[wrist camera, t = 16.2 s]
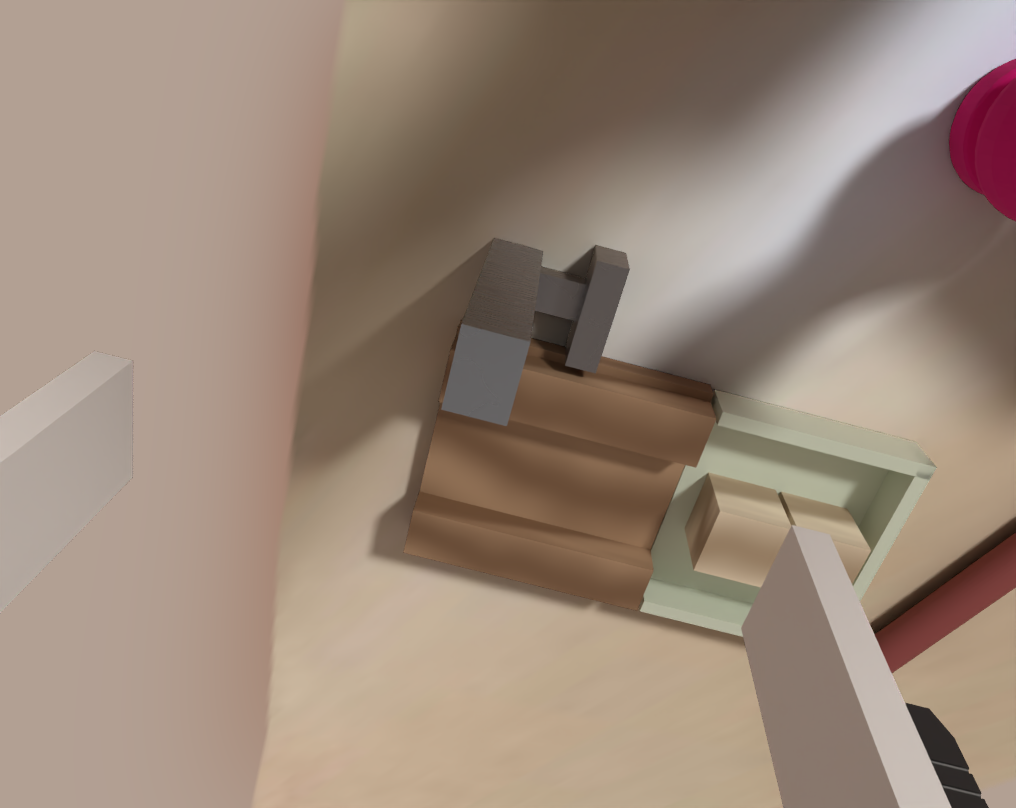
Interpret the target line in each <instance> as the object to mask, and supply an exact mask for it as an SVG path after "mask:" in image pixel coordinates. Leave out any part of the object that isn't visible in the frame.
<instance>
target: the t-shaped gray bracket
mask: <svg viewBox="0 0 1016 808" xmlns="http://www.w3.org/2000/svg"><path fill="white" fill-rule="evenodd" d="M542 256H543V251H541V250H537V249H533V248H530V247H526V246H522V245H518V244H514V243H511V242H507V241H503V240H499V239H496V238H494V240H493V242H492V245H491V248H490V250H489V253H488V255H487V258H486V261H485V263H484V266H483V269H482V271H481V274H480V276H479V279H478V282H477V284H476V287H475V290H474V292H473V295H472V297H471V300H470V303H469V305H468V308H467V311H466V313H465V316H464V318H463V321H462V324H461V328H460V332H459V336H458V341H457V345H456V349H455V353H454V358H453V362H452V366H451V370H450V375H449V379H448V383H447V387H446V392H445V396H444V400H443V404H442V408H441V410H445V411H449V412H453V413H457V414H461V415H464V416H468V417H472V418H476V419H480V420H484V421H488V422H492V423H496V424H500V425H503V426H507V424H508V420H509V417H510V413H511V410H512V406H513V403H514V399H515V396H516V392H517V388H518V385H519V381H520V378H521V374H522V371H523V367H524V363H525V360H526V356H527V353H528V349H529V346H530V342H531V335H532V328H533V321H534V313H535V311H538V312H542V313H546V314H550V315H554V316H557V317H561V318H565V319H569V320H573V322H572V325H571V328H570V332H569V335H568V338H567V342H566V353H565V366H569V367H573V368H576V369H580V370H584V371H588V372H592V373H596V371H597V368H598V365H599V362H600V359H601V356H602V353H603V349H604V346H605V343H606V340H607V337H608V334H609V331H610V328H611V325H612V322H613V319H614V316H615V313H616V310H617V307H618V304H619V300H620V297H621V294H622V291H623V288H624V285H625V282H626V279H627V276H628V273H629V270H630V269H629V264H628V260H627V255H626V253H624V252H620V251H616V250H612V249H609V248H605V247H601V246H597V245H596V246H595V249H594V252H593V256H592V259H591V262H590V266H589V269H588V272H587V275H586V278H583V277H579V276H576V275H572V274H568V273H564V272H561V271H557V270H553V269H549V268H545V267H542V266H541V263H542Z"/></svg>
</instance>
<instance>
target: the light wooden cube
mask: <svg viewBox="0 0 1016 808" xmlns="http://www.w3.org/2000/svg"><path fill="white" fill-rule="evenodd" d="M779 499H780V501H781V503H782V506H783V508H784V510H785V513H786V515H787V517H788V519H789V522H790V524H791V526H792V525H794V526H798V527H802V528H806V529H810V530H814V531H818V532H822V533H826V534H830V536H831V538H832V541H833V543H834V545H835V547H836V550H837V552H838V554H839V556H840V559H841V561H842V563H843V565H844V567H845V570H846V572H847V574H848V576H849V579H850V581H851V583H853V582H854V580H855V578H856V576H857V575H858V573H859V571H860V569H861V568H862V566H863V564H864V562H865V561H866V559H867V557H868V555H869V554H870V552H871V549H870V547H869V546H868V544H867V542H866V540H865V539H864V537H863V535H862V533H861V532H860V530H859V528H858V526H857V525H856V523H855V521H854V519H853V518H852V516H851V514H850V512H849V511H848V509H846V508H842V507H839V506H835V505H831V504H827V503H823V502H820V501H816V500H812V499H808V498H804V497H801V496H797V495H793V494H789V493H785V492H780V495H779Z"/></svg>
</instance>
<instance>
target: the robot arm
mask: <svg viewBox="0 0 1016 808" xmlns="http://www.w3.org/2000/svg"><path fill="white" fill-rule="evenodd" d="M132 476H133V360H129V359H125V358H121V357H117V356H113V355H109V354H105V353H101V352H97V351H93V352H92V353H90V354H89V355H87V356H86V357H84V358H83V359H82V360H80V361H79V362H77V363H76V364H74V365H73V366H72V367H70V368H69V369H67V370H66V371H64V372H63V373H61V374H60V375H58V376H57V377H56V378H54V379H53V380H51V381H50V382H48V383H47V384H45V385H44V386H43V387H41V388H40V389H38V390H37V391H35V392H34V393H32V394H31V395H30V396H28V397H27V398H25V399H24V400H22V401H21V402H19V403H18V404H17V405H15V406H14V407H12V408H11V409H9V410H8V411H6V412H5V413H4V414H2V415H1V416H0V613H1V612H2V611H3V610H4V609H5V608H6V607H7V606H8V605H9V604H10V603H11V602H12V601H13V600H14V599H15V598H16V597H17V596H18V595H19V593H20V592H21V591H22V590H23V589H24V588H25V587H26V586H27V585H28V584H29V583H30V582H31V581H32V580H33V579H34V578H35V577H36V576H37V575H38V574H39V573H40V572H41V571H42V570H43V569H44V568H45V567H46V566H47V565H48V564H49V563H50V562H51V561H52V560H53V559H54V557H56V556H57V554H59V553H60V552H61V551H62V549H63V548H64V547H65V546H66V545H67V544H68V543H69V542H70V541H71V540H72V539H73V538H74V537H75V536H76V535H77V534H78V533H79V532H80V531H81V530H82V529H83V528H84V527H85V526H86V525H87V524H88V523H89V522H90V521H91V520H92V519H93V518H94V517H95V516H96V515H97V514H98V513H99V512H100V510H101V509H102V508H103V507H104V506H105V505H106V504H107V503H108V502H109V501H110V500H111V499H112V498H113V497H114V496H115V495H116V494H117V493H118V492H119V491H120V490H121V489H122V488H123V487H124V486H125V485H126V484H127V483H128V482H129V481H130V480H131V479H132V478H133V477H132ZM741 630H742V634H743V639H744V643H745V647H746V651H747V655H748V660H749V664H750V668H751V672H752V677H753V681H754V685H755V689H756V694H757V698H758V702H759V706H760V710H761V715H762V719H763V723H764V727H765V732H766V736H767V740H768V744H769V749H770V753H771V757H772V761H773V766H774V770H775V774H776V778H777V782H778V787H779V791H780V795H781V799H782V804H783V808H988V806H987V804H986V802H985V800H984V799H981V791H980V789H979V787H978V785H977V783H976V781H975V779H974V777H973V775H972V774H969V772H968V770H969V767H968V765H967V763H966V761H965V759H964V757H963V755H962V753H961V751H960V749H959V747H958V745H957V743H956V741H955V739H954V737H953V736H952V735H951V734H950V732H949V731H948V730H947V729H946V728H945V727H944V725H943V724H942V723H941V722H940V721H939V720H938V718H937V717H936V716H935V715H934V714H933V713H932V712H931V710H930V709H928V708H924V707H920V706H916V705H912V704H908V703H905V702H904V700H903V698H902V695H901V693H900V691H899V689H898V686H897V684H896V682H895V680H894V677H893V675H892V673H891V671H890V668H889V666H888V664H887V662H886V659H885V657H884V655H883V653H882V651H881V648H880V646H879V644H878V642H877V639H876V637H875V635H874V633H873V630H872V628H871V626H870V624H869V621H868V619H867V617H866V615H865V612H864V610H863V608H862V606H861V603H860V601H859V599H858V597H857V594H856V592H855V590H854V588H853V585H852V583H851V581H850V579H849V576H848V574H847V572H846V570H845V567H844V565H843V563H842V561H841V559H840V556H839V554H838V552H837V550H836V547H835V545H834V543H833V541H832V538H831V536H830V534H826V533H822V532H818V531H814V530H810V529H806V528H802V527H798V526H794V525H792V526H791V528H790V530H789V532H788V534H787V536H786V538H785V540H784V542H783V544H782V546H781V548H780V550H779V552H778V554H777V556H776V558H775V560H774V562H773V564H772V566H771V568H770V570H769V572H768V574H767V576H766V578H765V580H764V582H763V584H762V587H761V589H760V591H759V593H758V595H757V597H756V599H755V601H754V603H753V605H752V607H751V609H750V611H749V613H748V615H747V617H746V619H745V621H744V623H743V625H742V627H741Z"/></svg>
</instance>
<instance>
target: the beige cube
mask: <svg viewBox="0 0 1016 808" xmlns="http://www.w3.org/2000/svg"><path fill="white" fill-rule="evenodd" d="M790 528H791V524H790V522H789V519H788V517H787V515H786V513H785V510H784V508H783V506H782V503H781V501H780V499H779V496H778V494H777V492H776V490H775V489H771V488H767V487H763V486H759V485H755V484H752V483H748V482H744V481H740V480H736V479H732V478H729V477H725V476H721V475H717V474H713V473H709V472H708V475H707V477H706V479H705V482H704V484H703V486H702V489H701V491H700V493H699V496H698V498H697V500H696V503H695V505H694V507H693V510H692V512H691V514H690V517H689V519H688V521H687V524H686V526H685V528H684V529H685V533H686V538H687V542H688V547H689V551H690V556H691V560H692V565H693V570H694V571H698V572H702V573H706V574H710V575H714V576H717V577H721V578H725V579H729V580H733V581H737V582H741V583H745V584H749V585H753V586H757V587H762V584H763V582H764V580H765V578H766V576H767V574H768V572H769V570H770V568H771V566H772V564H773V562H774V560H775V558H776V556H777V554H778V552H779V550H780V548H781V546H782V544H783V542H784V540H785V538H786V536H787V534H788V532H789V530H790Z"/></svg>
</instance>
